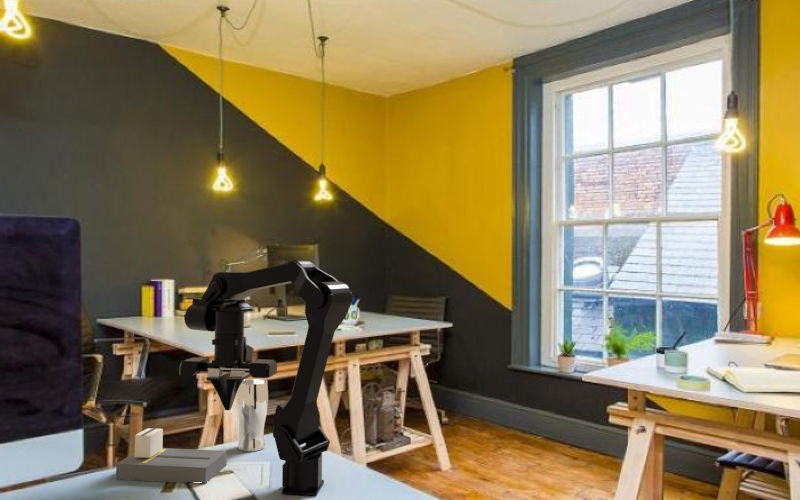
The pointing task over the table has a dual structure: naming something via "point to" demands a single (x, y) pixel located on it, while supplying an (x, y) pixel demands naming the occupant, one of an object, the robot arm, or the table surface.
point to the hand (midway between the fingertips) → (228, 410)
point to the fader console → (173, 466)
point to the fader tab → (148, 442)
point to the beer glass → (252, 413)
